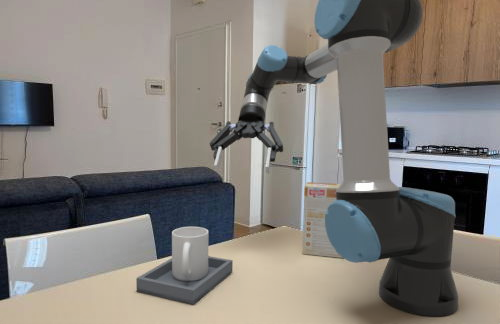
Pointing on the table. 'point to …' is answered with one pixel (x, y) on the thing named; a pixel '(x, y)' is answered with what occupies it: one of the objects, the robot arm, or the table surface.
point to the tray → (183, 291)
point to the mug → (189, 253)
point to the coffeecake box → (317, 219)
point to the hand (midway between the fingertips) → (241, 169)
